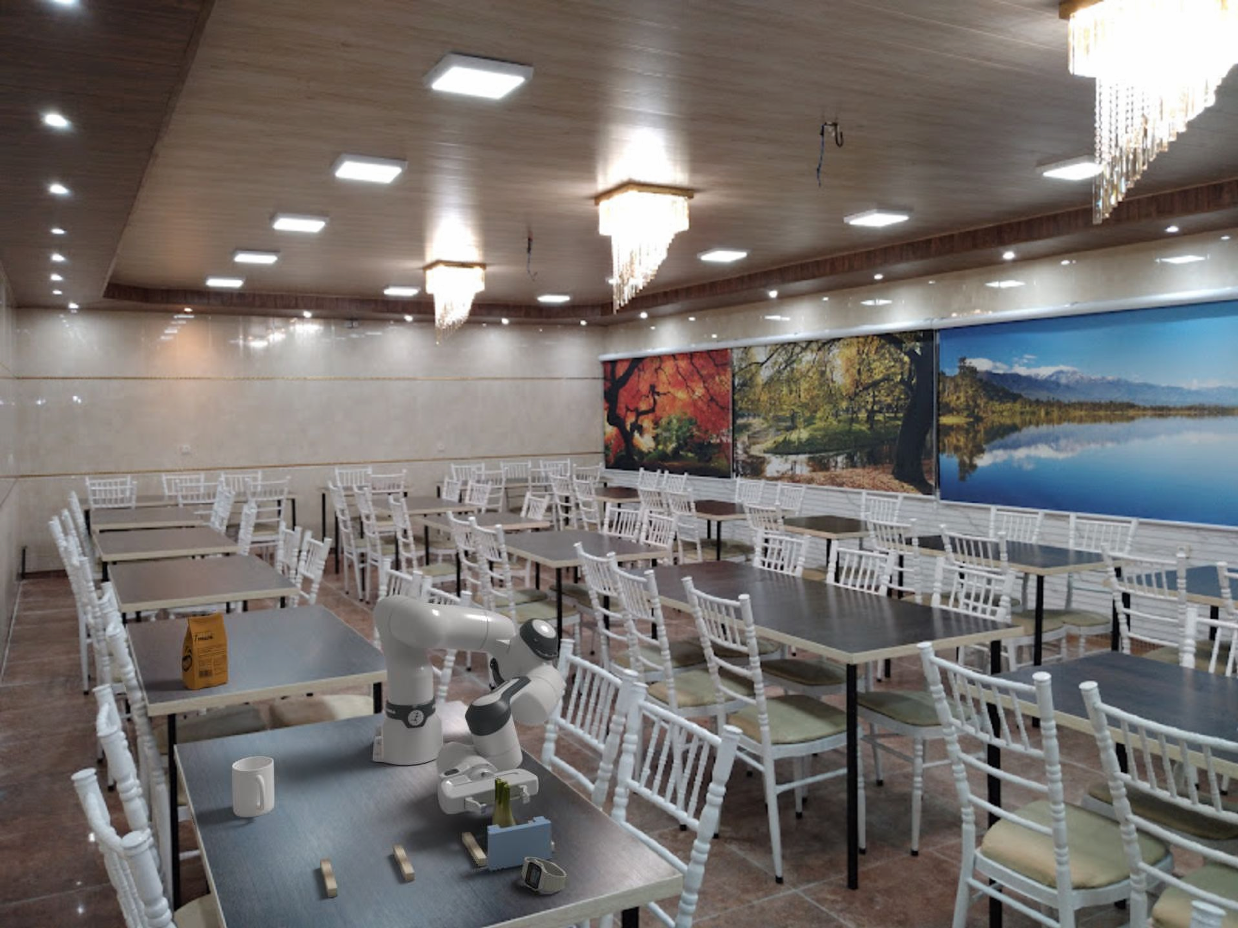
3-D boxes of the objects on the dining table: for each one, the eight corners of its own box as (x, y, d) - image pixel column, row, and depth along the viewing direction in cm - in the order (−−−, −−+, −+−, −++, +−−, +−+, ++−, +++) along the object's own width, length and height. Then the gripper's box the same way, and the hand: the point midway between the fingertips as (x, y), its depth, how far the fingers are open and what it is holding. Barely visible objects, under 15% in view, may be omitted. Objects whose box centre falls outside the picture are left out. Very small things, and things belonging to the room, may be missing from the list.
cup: (268, 798, 209) (267, 753, 209) (284, 817, 199) (283, 770, 199) (228, 807, 204) (227, 761, 204) (243, 827, 195) (241, 779, 194)
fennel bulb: (492, 833, 191) (491, 775, 191) (516, 832, 192) (516, 774, 191) (491, 846, 186) (490, 786, 185) (516, 845, 186) (515, 785, 185)
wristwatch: (514, 881, 172) (513, 854, 172) (539, 868, 177) (539, 842, 177) (549, 898, 166) (549, 871, 166) (574, 885, 171) (574, 858, 170)
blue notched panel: (485, 862, 179) (484, 826, 179) (545, 850, 184) (545, 815, 183) (490, 871, 176) (490, 834, 175) (551, 858, 181) (551, 822, 180)
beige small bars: (320, 867, 177) (320, 859, 177) (534, 826, 194) (534, 819, 194) (328, 897, 166) (328, 889, 166) (554, 851, 184) (554, 843, 183)
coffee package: (178, 685, 296) (176, 615, 295) (219, 677, 305) (217, 609, 303) (190, 692, 289) (188, 620, 288) (231, 683, 298) (229, 614, 296)
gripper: (522, 785, 205) (551, 808, 193) (431, 806, 194) (456, 831, 182) (522, 756, 205) (551, 777, 193) (431, 775, 194) (456, 799, 182)
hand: (504, 804), depth 187 cm, fingers open, 8 cm apart
